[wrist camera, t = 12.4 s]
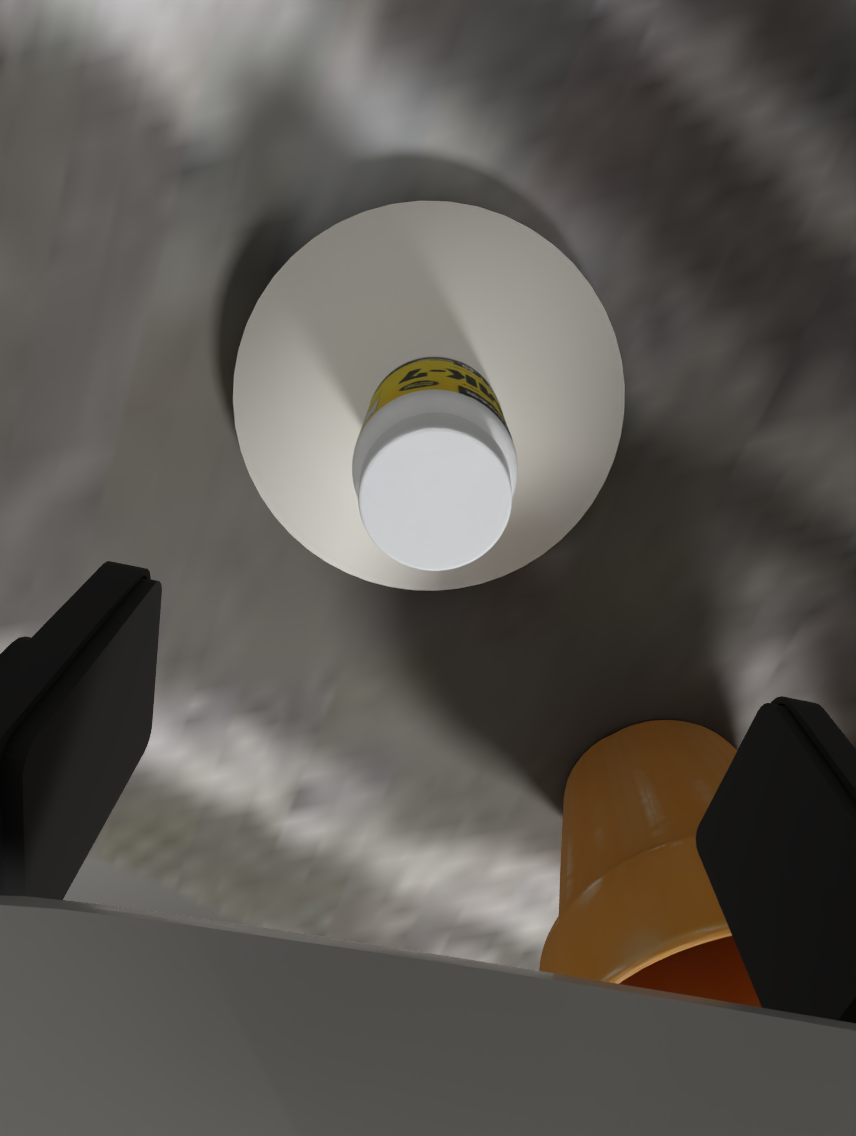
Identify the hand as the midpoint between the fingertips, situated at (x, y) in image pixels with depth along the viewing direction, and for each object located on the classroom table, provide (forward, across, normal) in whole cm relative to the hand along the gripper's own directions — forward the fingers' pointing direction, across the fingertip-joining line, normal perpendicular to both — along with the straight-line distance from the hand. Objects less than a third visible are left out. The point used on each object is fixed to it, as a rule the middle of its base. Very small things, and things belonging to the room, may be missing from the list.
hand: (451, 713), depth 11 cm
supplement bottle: (+17, 0, 0) cm, 17 cm away
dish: (+18, +1, 0) cm, 18 cm away
